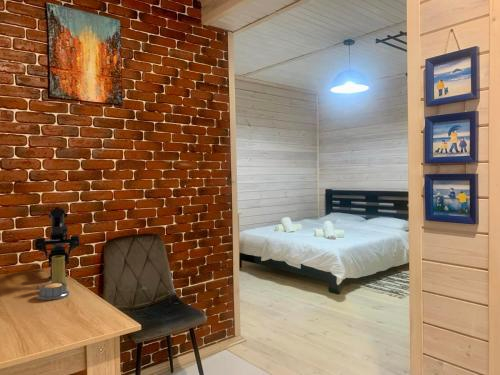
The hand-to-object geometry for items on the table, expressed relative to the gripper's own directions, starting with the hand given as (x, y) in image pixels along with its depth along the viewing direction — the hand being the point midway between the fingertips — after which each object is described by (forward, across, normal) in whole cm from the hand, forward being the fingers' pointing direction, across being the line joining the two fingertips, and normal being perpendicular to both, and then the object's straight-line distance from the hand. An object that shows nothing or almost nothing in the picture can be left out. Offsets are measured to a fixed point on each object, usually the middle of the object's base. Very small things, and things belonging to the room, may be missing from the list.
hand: (57, 256), depth 178 cm
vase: (+14, 0, +4) cm, 15 cm away
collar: (+23, -2, -5) cm, 23 cm away
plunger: (+20, -2, -7) cm, 22 cm away
